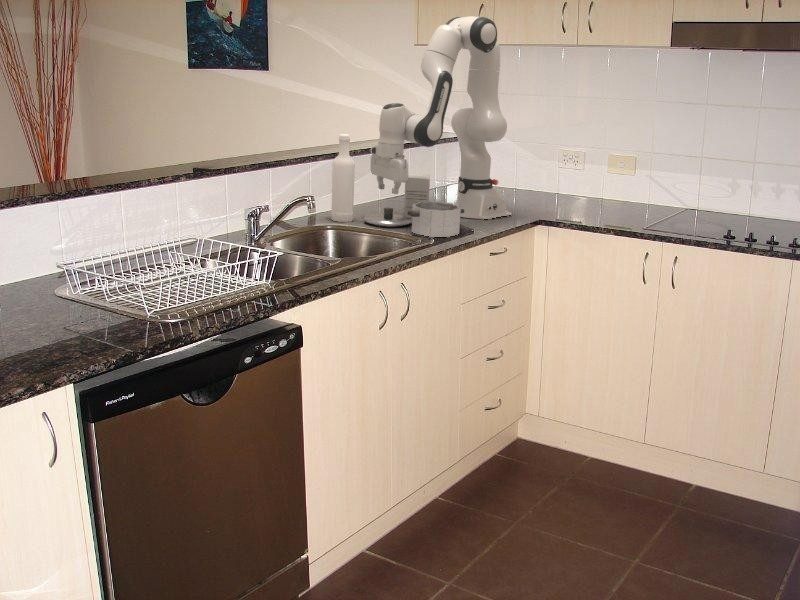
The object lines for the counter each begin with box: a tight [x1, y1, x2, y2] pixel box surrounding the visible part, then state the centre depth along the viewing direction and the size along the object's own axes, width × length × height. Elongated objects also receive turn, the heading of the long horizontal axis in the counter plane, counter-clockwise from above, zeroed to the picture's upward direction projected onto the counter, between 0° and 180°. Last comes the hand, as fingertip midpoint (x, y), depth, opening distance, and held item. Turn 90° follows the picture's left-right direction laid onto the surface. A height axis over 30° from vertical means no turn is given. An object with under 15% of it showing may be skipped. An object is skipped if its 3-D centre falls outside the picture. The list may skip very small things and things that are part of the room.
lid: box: [363, 207, 412, 228], centre depth 310 cm, size 17×17×6 cm
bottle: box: [330, 133, 356, 223], centre depth 308 cm, size 8×8×30 cm
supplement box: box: [403, 173, 431, 218], centre depth 322 cm, size 9×9×15 cm
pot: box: [408, 201, 464, 238], centre depth 299 cm, size 20×16×9 cm
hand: (388, 191), depth 307 cm, fingers open, 8 cm apart
